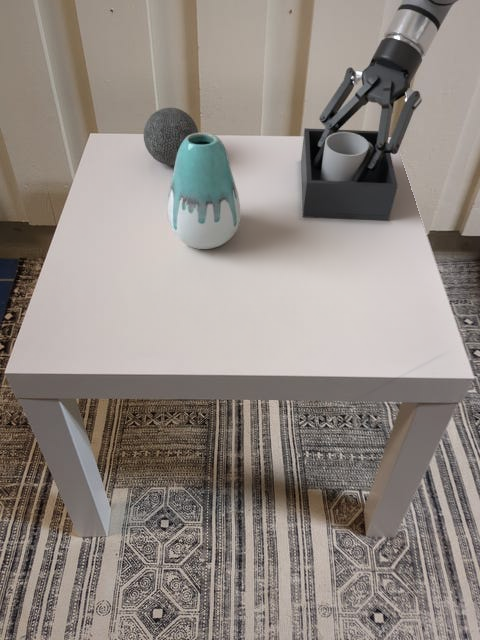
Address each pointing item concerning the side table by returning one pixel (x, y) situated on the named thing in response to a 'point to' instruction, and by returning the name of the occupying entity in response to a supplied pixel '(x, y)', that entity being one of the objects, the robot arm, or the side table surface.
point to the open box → (346, 185)
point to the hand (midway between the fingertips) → (335, 176)
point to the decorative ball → (167, 133)
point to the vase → (203, 193)
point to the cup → (343, 156)
